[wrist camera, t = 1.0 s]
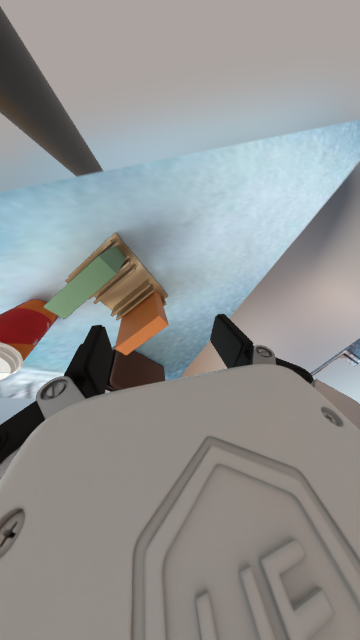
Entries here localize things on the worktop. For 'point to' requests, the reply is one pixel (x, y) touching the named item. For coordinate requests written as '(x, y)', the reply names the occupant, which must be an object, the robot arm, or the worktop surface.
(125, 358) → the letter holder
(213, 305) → the worktop surface
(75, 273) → the book rack
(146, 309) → the orange book
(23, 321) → the coffee cup
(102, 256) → the green book
